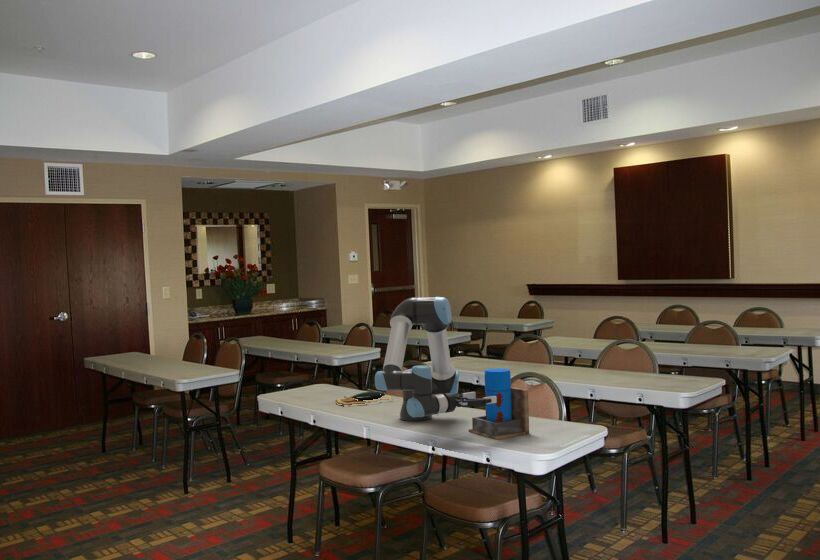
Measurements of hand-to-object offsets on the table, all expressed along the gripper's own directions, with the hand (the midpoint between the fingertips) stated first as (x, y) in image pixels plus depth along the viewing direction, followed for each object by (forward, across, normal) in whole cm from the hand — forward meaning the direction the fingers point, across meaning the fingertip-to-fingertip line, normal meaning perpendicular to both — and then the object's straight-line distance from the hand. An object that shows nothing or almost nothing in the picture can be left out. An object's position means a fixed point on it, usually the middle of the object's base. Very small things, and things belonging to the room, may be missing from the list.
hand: (485, 397), depth 291 cm
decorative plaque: (0, -103, -16) cm, 104 cm away
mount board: (+7, 0, -16) cm, 17 cm away
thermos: (+7, 0, -15) cm, 16 cm away
